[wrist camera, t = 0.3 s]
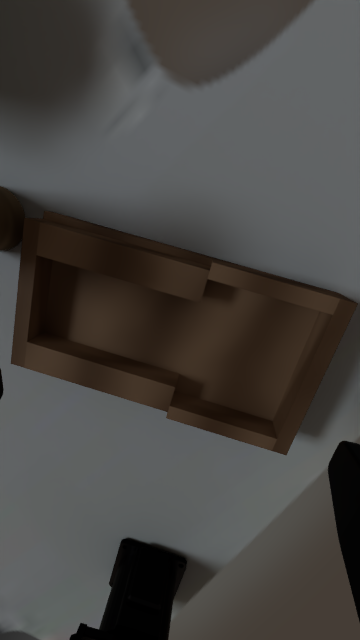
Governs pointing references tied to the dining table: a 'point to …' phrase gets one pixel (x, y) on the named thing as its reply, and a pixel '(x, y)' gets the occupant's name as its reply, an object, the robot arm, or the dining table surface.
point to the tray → (174, 329)
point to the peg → (10, 220)
